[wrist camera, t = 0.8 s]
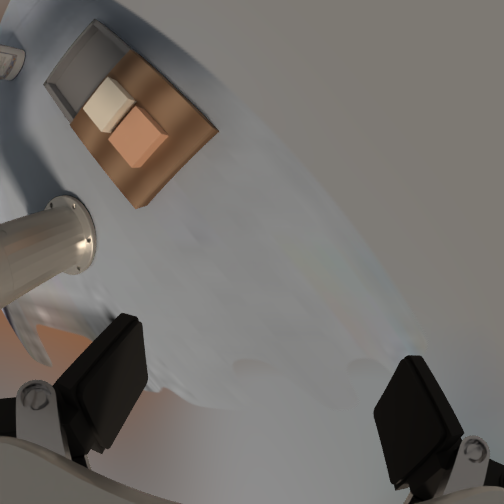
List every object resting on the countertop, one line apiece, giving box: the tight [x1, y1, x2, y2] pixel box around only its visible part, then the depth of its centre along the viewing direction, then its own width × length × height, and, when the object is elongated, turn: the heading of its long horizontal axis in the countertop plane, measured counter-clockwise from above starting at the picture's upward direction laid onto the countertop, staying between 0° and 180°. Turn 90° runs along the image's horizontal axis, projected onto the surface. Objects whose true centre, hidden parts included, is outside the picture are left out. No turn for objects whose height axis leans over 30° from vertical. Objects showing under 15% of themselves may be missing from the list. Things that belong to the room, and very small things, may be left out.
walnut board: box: [70, 49, 219, 209], centre depth 29 cm, size 16×13×3 cm
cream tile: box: [83, 77, 136, 133], centre depth 26 cm, size 5×5×2 cm
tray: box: [43, 19, 138, 124], centre depth 27 cm, size 12×13×2 cm
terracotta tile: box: [108, 106, 169, 168], centre depth 27 cm, size 5×5×2 cm
